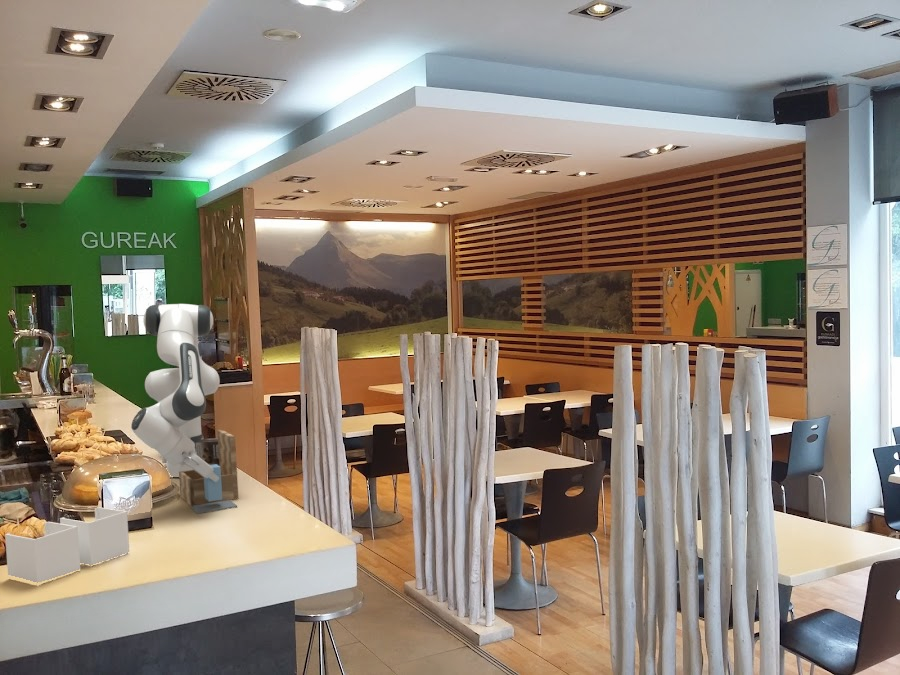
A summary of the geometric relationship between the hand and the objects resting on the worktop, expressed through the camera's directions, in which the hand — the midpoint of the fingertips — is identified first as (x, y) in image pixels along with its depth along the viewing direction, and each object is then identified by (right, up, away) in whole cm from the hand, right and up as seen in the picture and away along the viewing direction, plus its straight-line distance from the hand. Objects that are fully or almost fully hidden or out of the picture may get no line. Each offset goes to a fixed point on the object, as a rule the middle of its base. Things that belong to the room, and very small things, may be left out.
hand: (214, 477), depth 247 cm
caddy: (-6, -9, +13) cm, 16 cm away
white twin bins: (-20, -13, -50) cm, 55 cm away
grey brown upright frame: (-8, -8, +28) cm, 30 cm away
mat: (0, -9, 0) cm, 9 cm away
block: (0, -6, 0) cm, 6 cm away
